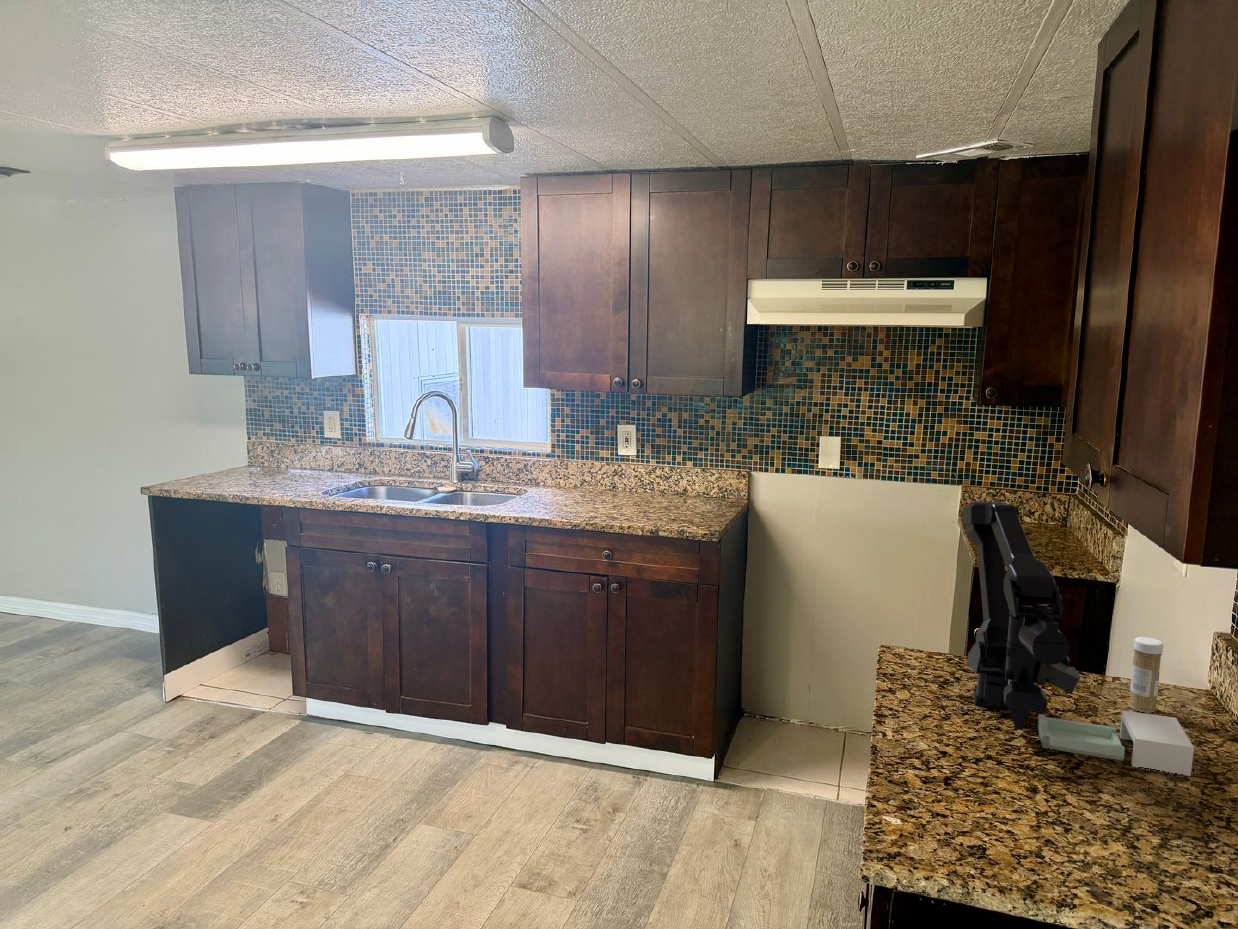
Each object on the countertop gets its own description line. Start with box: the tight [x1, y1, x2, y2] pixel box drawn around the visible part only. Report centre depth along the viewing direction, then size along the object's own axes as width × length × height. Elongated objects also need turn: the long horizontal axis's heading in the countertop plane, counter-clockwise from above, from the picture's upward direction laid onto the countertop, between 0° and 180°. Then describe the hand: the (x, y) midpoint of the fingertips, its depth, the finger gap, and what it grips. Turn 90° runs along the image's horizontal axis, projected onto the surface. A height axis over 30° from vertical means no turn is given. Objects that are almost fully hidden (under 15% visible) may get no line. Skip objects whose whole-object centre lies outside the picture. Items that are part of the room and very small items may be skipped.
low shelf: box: [1119, 710, 1195, 777], centre depth 140 cm, size 11×8×5 cm
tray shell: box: [1037, 713, 1126, 761], centre depth 144 cm, size 8×12×3 cm, turn 69°
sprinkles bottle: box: [1128, 636, 1164, 714], centre depth 157 cm, size 5×5×14 cm
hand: (1018, 728), depth 148 cm, fingers closed
